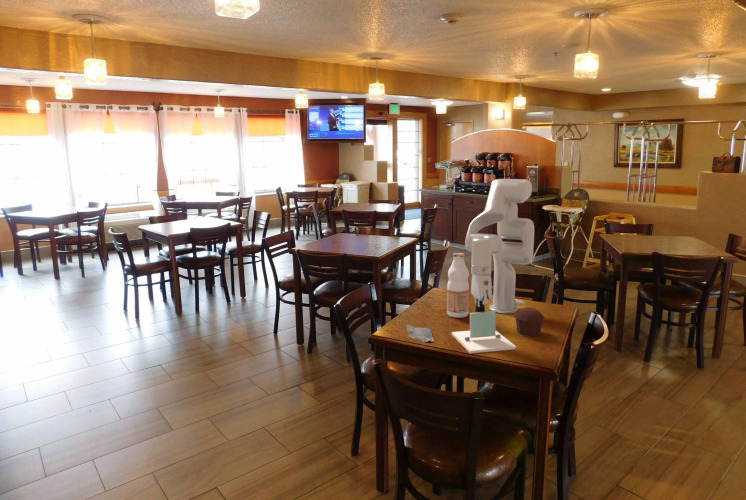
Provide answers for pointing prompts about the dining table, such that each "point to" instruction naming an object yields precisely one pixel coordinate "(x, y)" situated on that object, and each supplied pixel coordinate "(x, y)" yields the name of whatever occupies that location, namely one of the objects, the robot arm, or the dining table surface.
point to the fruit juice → (458, 287)
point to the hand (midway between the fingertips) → (479, 315)
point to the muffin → (529, 321)
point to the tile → (482, 324)
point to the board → (483, 342)
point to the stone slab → (420, 333)
